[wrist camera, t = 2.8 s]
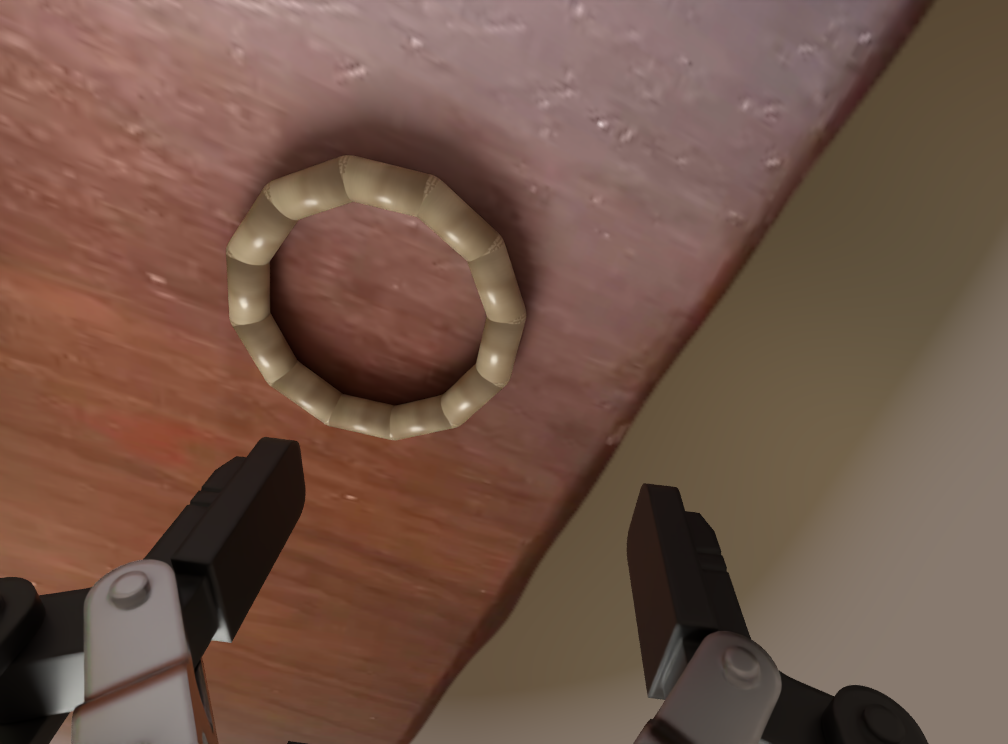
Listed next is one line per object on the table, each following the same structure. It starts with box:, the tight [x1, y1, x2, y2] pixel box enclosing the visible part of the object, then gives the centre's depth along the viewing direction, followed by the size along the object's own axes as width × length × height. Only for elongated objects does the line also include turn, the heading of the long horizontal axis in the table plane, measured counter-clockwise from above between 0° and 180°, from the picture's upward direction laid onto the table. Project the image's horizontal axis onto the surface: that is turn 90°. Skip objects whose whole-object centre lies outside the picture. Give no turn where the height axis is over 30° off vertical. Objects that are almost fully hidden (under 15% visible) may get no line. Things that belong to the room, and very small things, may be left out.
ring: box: [226, 155, 526, 440], centre depth 20 cm, size 11×11×1 cm
